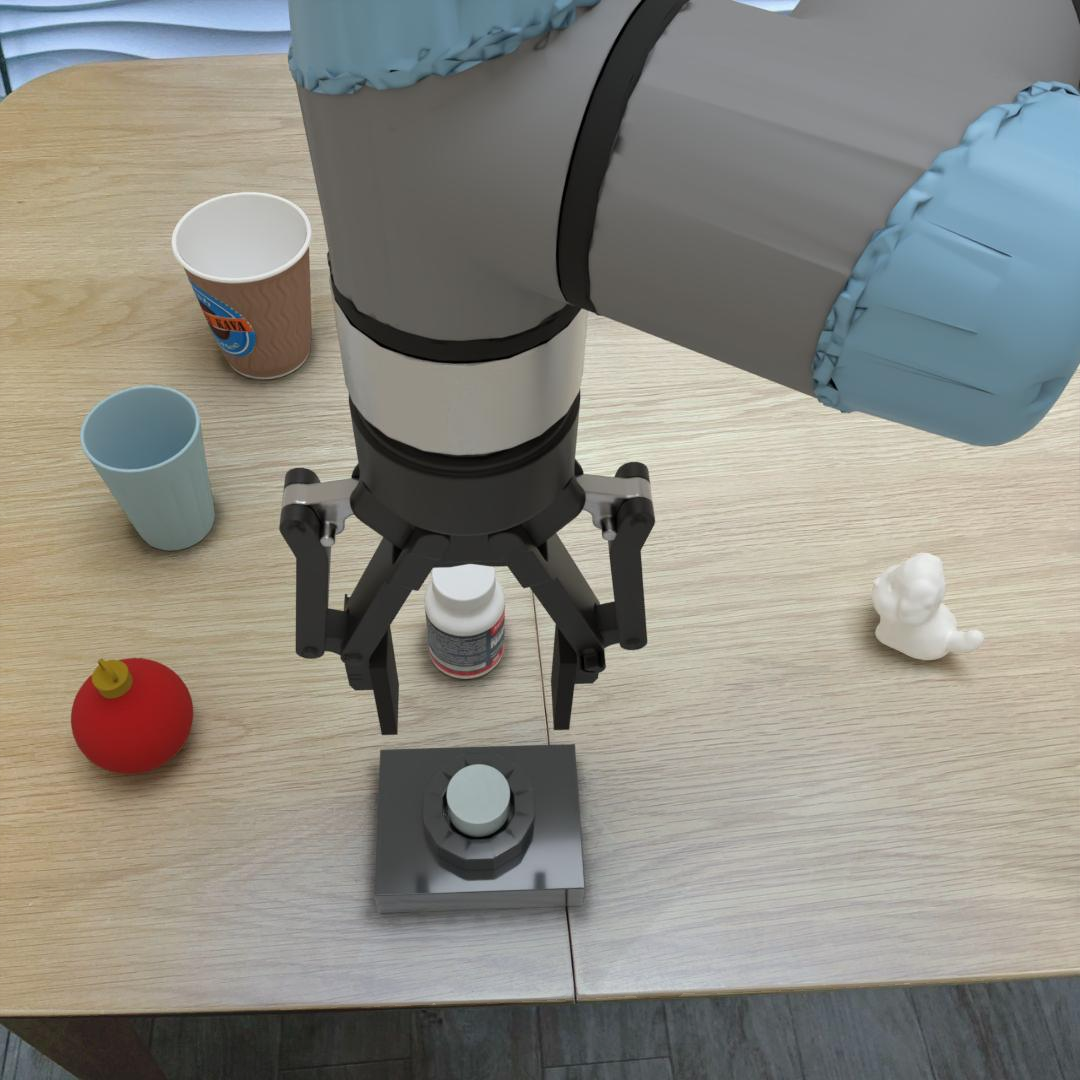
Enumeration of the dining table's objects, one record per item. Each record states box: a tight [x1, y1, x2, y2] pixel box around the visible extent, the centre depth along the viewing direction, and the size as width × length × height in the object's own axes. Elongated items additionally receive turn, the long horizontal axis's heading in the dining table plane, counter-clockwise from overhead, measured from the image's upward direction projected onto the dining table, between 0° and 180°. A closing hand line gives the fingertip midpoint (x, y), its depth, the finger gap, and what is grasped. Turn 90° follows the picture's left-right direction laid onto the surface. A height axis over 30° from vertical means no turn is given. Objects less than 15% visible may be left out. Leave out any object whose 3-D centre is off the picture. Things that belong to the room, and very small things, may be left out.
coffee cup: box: [171, 191, 313, 380], centre depth 86 cm, size 10×10×12 cm
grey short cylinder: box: [447, 764, 510, 837], centre depth 63 cm, size 4×4×2 cm
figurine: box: [871, 551, 985, 661], centre depth 74 cm, size 5×8×8 cm
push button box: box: [373, 743, 586, 914], centre depth 65 cm, size 12×9×5 cm
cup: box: [79, 384, 216, 552], centre depth 76 cm, size 8×8×10 cm
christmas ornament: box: [70, 657, 194, 775], centre depth 66 cm, size 7×7×10 cm
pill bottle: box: [424, 564, 506, 680], centre depth 72 cm, size 5×5×9 cm
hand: (475, 707), depth 53 cm, fingers open, 8 cm apart
